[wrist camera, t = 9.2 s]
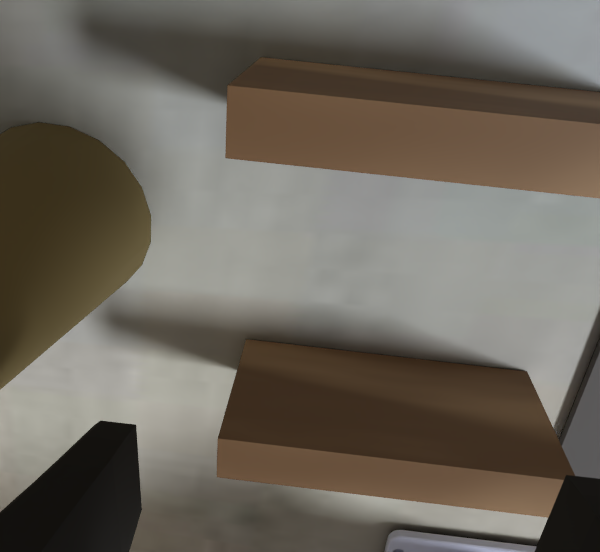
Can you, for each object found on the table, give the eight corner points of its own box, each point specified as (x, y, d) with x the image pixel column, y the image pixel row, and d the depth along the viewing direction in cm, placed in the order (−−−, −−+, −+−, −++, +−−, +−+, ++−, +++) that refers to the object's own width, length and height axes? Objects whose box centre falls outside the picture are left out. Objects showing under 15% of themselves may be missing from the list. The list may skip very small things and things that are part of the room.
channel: (515, 404, 21) (561, 519, 16) (244, 372, 21) (216, 477, 17) (620, 93, 16) (728, 137, 11) (261, 57, 16) (227, 85, 11)
